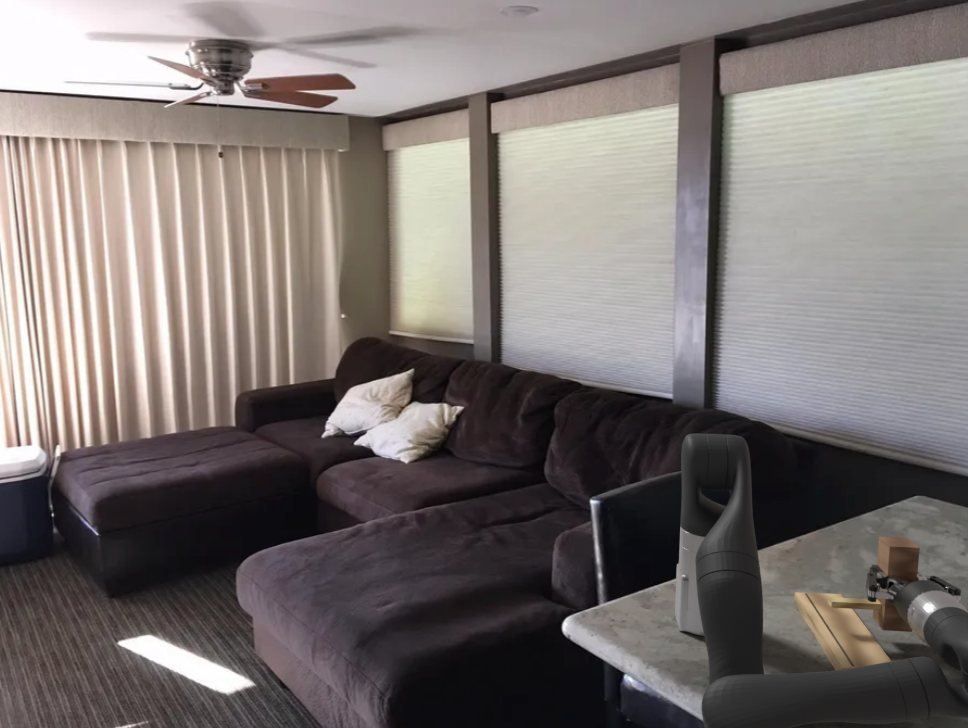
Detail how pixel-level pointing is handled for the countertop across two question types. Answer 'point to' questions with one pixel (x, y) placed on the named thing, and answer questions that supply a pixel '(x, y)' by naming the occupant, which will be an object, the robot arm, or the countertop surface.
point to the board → (839, 632)
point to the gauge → (892, 560)
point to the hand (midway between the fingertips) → (890, 571)
